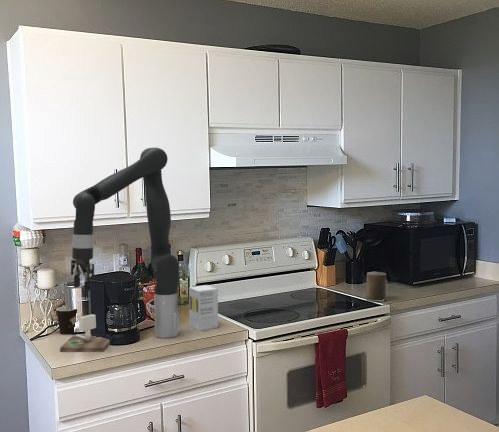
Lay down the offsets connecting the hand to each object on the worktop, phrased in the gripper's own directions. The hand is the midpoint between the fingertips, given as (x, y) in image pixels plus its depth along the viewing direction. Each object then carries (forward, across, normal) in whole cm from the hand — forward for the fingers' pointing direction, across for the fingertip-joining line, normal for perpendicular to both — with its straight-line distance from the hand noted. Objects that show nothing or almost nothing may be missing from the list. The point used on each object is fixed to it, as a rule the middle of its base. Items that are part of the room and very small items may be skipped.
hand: (81, 289), depth 218 cm
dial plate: (+22, 0, -3) cm, 22 cm away
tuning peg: (+20, +3, -3) cm, 21 cm away
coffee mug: (+22, +22, -7) cm, 32 cm away
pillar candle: (+15, -32, -144) cm, 148 cm away
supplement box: (+20, -10, -51) cm, 56 cm away
